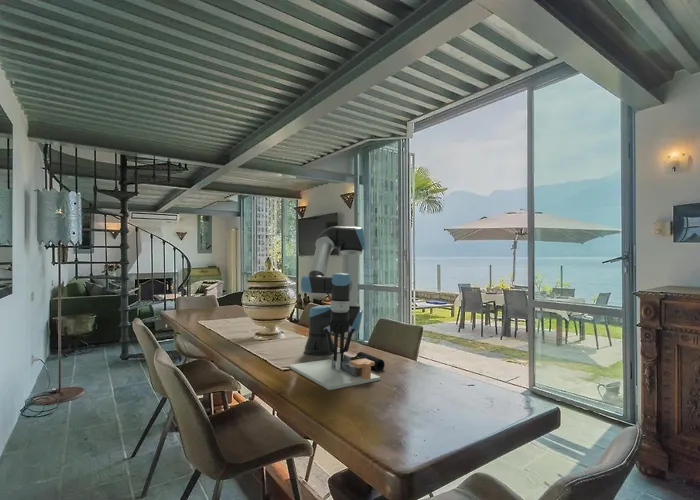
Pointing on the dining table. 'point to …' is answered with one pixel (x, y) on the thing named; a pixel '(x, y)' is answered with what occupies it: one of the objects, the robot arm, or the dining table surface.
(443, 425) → the dining table surface
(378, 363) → the pipe connector
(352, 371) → the link
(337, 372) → the board
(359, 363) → the keeper
